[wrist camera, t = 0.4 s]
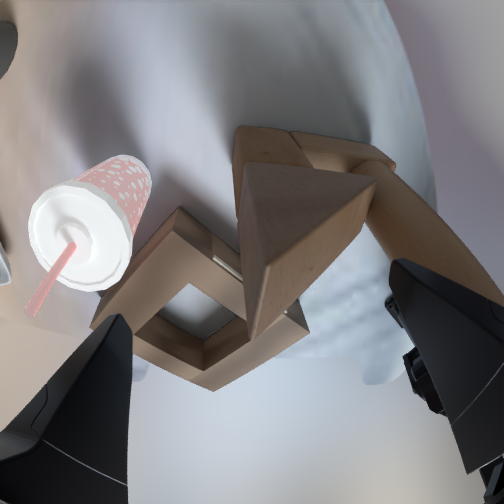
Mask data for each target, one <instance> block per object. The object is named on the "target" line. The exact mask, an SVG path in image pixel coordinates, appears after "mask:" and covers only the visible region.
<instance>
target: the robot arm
mask: <svg viewBox="0 0 504 504" xmlns="http://www.w3.org/2000/svg"><path fill="white" fill-rule="evenodd" d="M389 286H390V288H391V291H392V293H393V295H394V298H392V299H391V300H390V301H389V302H387V303H386V305H385V307H386V309H387V310H388V312H389V313H390V314H391V315H392V317H393V318H394V319H395V320H396V322H397V323H398V324H399V325H400V327H401V328H404V329H405V331H406V332H407V334H408V336H409V337H410V339H411V341H412V342H413V344H414V346H415V347H414V348H413V349H412V350H411V351H410V352H408V353H406V354H405V355H404V356H403V360H404V365H405V367H406V370H407V373H408V376H409V379H410V382H411V385H412V390H413V392H414V393H415V394H418V395H419V396H420V397H421V398H422V399H423V400H425V401H426V402H427V404H428V407H429V409H430V410H431V411H433V412H435V413H436V414H439V413H440V414H442V415H444V416H446V417H448V420H449V422H450V425H451V428H452V431H453V434H454V437H455V439H456V442H457V445H458V448H459V451H460V454H461V457H462V460H463V464H464V467H465V470H466V473H467V475H469V474H470V473H472V472H474V471H476V470H478V469H479V471H480V474H481V476H482V479H483V482H484V484H485V487H486V492H485V494H484V500H485V503H484V504H504V306H502V305H500V304H498V303H496V302H494V301H492V300H490V299H487V298H486V297H484V296H482V295H481V294H479V293H477V292H475V291H473V290H471V289H469V288H467V287H465V286H463V285H461V284H459V283H457V282H455V281H453V280H451V279H449V278H447V277H445V276H443V275H441V274H438V273H436V272H434V271H432V270H430V269H428V268H426V267H424V266H422V265H419V264H417V263H415V262H413V261H411V260H409V259H406V258H404V257H401V258H397V259H394V260H392V262H391V267H390V274H389ZM132 356H133V333H132V330H131V328H130V327H129V325H128V323H127V322H126V320H125V318H124V317H123V315H122V314H120V313H115V314H110V315H108V316H107V317H106V318H105V319H104V320H103V321H102V322H101V324H100V325H99V326H98V327H97V328H96V329H95V330H94V331H93V332H92V333H91V334H90V335H89V336H88V337H87V338H86V339H85V340H84V342H83V343H82V344H81V345H80V346H79V347H78V348H77V349H76V350H75V351H74V352H73V354H72V355H71V356H70V357H69V358H68V359H67V360H66V361H65V362H64V363H63V365H62V366H61V367H60V368H59V369H58V370H57V371H56V373H55V374H54V375H53V376H52V377H51V378H50V379H49V380H48V382H47V384H45V385H44V387H42V389H41V390H40V391H39V392H38V393H37V394H36V396H35V397H34V398H33V399H32V400H31V401H30V402H29V403H28V404H27V405H26V406H25V408H24V409H23V410H22V411H21V412H20V413H19V414H18V415H17V416H16V417H15V418H14V419H13V420H12V421H11V422H10V423H9V424H8V425H7V427H6V428H5V429H4V430H2V431H1V432H0V504H128V487H127V451H128V449H127V448H128V425H129V409H130V396H131V394H130V393H131V384H132Z"/></svg>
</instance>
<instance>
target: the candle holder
mask: <svg viewBox="0 0 504 504" xmlns="http://www.w3.org/2000/svg"><path fill="white" fill-rule="evenodd" d="M16 47H17V31H16V28H15V26H14V25H13V24H11V23H10V22H7V21H0V79H1V78H2V77H3V75H4V74H5V73H6V72H7V70H8V68H9V66H10V64H11V62H12V60H13V58H14V54H15V51H16Z"/></svg>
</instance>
